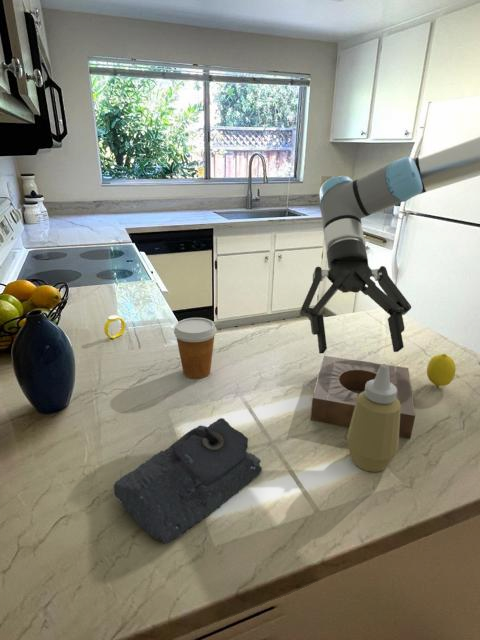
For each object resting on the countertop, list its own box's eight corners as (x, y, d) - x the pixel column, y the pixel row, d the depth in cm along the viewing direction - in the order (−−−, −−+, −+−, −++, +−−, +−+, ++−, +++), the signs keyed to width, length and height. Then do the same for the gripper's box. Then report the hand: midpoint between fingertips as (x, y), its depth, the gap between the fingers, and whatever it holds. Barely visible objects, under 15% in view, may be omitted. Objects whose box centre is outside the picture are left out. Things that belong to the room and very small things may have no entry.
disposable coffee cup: (177, 384, 89) (174, 335, 84) (175, 364, 97) (172, 318, 93) (220, 380, 91) (219, 332, 86) (214, 360, 99) (213, 315, 95)
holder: (405, 387, 88) (408, 367, 86) (411, 439, 72) (416, 416, 70) (321, 374, 93) (323, 355, 92) (309, 420, 77) (311, 398, 75)
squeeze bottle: (366, 484, 62) (382, 384, 56) (334, 451, 69) (346, 359, 62) (405, 469, 66) (426, 373, 59) (371, 439, 72) (386, 349, 65)
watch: (121, 331, 115) (119, 312, 112) (128, 334, 113) (125, 314, 111) (104, 338, 110) (101, 318, 108) (110, 341, 109) (107, 321, 106)
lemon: (446, 396, 85) (454, 362, 82) (420, 386, 89) (426, 354, 86) (454, 385, 89) (462, 353, 86) (428, 377, 93) (435, 345, 90)
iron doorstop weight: (100, 491, 61) (96, 466, 59) (208, 425, 76) (207, 404, 74) (161, 556, 51) (158, 529, 49) (271, 466, 66) (272, 442, 64)
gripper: (399, 257, 83) (420, 355, 75) (280, 258, 82) (288, 358, 74) (415, 236, 76) (440, 342, 68) (285, 237, 75) (294, 344, 67)
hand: (361, 350), depth 71 cm, fingers open, 13 cm apart
